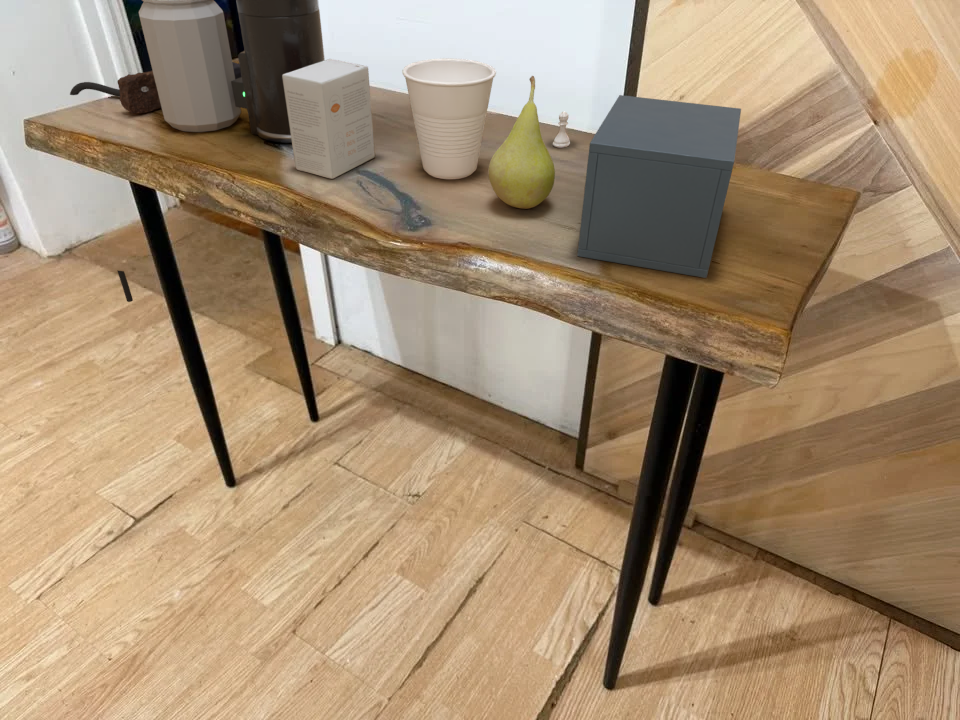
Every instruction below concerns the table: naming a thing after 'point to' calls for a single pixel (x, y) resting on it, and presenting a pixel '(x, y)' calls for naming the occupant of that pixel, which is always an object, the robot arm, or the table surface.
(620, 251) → the cabinet
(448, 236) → the table surface
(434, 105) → the cup
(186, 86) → the jar
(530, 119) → the fruit
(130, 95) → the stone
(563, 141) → the chess pawn
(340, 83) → the small box
